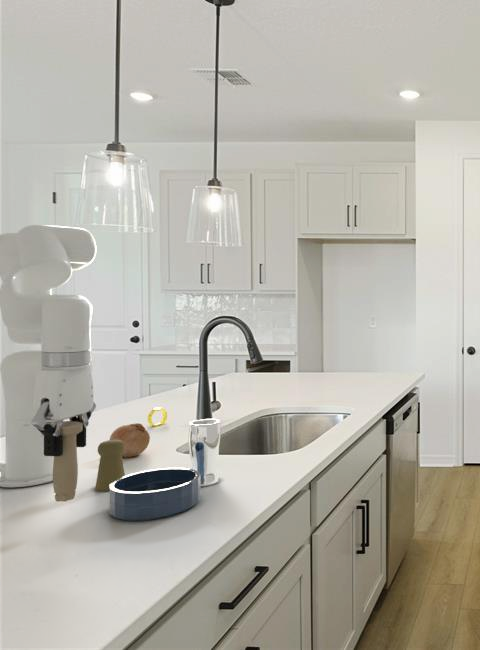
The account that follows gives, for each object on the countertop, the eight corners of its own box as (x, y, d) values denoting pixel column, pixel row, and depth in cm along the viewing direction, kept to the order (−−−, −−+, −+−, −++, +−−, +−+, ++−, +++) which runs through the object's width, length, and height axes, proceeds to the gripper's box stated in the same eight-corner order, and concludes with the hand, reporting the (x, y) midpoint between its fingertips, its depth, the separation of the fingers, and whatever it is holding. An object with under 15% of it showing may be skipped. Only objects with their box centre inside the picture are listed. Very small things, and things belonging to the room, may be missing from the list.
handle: (70, 492, 115) (70, 419, 115) (87, 498, 112) (88, 424, 112) (42, 500, 111) (42, 424, 110) (59, 506, 108) (60, 429, 108)
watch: (163, 422, 198) (163, 406, 198) (168, 423, 197) (168, 406, 197) (146, 426, 193) (146, 409, 192) (151, 427, 191) (151, 409, 191)
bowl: (89, 521, 114) (89, 492, 114) (142, 492, 131) (142, 467, 131) (172, 523, 114) (172, 493, 114) (214, 494, 131) (214, 468, 131)
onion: (145, 463, 162) (164, 431, 164) (120, 464, 153) (140, 429, 154) (119, 449, 163) (138, 417, 165) (93, 449, 154) (113, 415, 156)
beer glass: (206, 488, 134) (206, 426, 134) (181, 485, 136) (181, 424, 135) (226, 479, 141) (227, 419, 141) (202, 476, 143) (203, 418, 142)
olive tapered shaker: (132, 484, 136) (132, 439, 136) (107, 492, 130) (107, 445, 130) (114, 481, 138) (114, 436, 138) (89, 488, 132) (89, 442, 132)
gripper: (79, 354, 119) (78, 438, 120) (8, 365, 102) (8, 464, 103) (115, 355, 119) (114, 439, 120) (50, 366, 102) (49, 465, 103)
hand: (65, 450), depth 111 cm, fingers closed on handle, 5 cm apart
